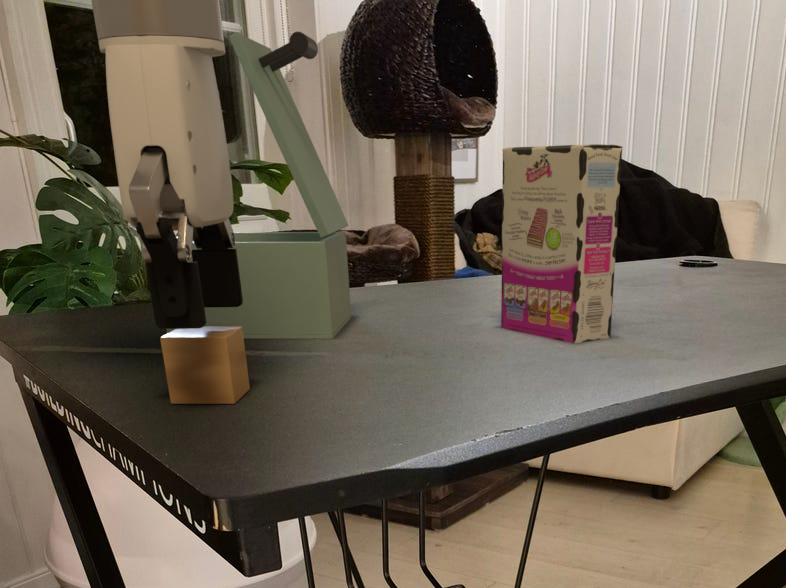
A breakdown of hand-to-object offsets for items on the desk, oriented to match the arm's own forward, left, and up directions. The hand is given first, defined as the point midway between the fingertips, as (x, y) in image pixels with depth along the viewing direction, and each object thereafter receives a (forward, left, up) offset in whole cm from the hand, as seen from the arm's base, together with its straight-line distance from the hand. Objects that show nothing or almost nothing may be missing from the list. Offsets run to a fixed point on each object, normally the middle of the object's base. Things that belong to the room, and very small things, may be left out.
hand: (203, 316), depth 64 cm
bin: (-5, +27, -6) cm, 28 cm away
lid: (-1, +28, +11) cm, 30 cm away
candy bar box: (+24, +27, -6) cm, 37 cm away
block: (0, 0, -6) cm, 6 cm away
